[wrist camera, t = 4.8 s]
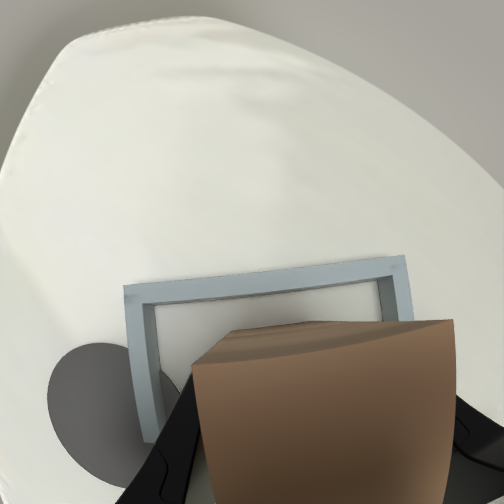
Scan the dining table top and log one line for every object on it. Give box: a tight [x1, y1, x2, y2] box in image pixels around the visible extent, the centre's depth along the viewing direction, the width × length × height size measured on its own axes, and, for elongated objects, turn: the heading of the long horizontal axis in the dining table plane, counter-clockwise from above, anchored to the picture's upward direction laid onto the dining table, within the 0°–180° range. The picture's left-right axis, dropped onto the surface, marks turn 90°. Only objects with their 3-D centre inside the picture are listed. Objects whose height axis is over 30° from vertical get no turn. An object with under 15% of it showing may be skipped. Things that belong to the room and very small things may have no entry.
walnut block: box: [191, 319, 456, 504], centre depth 10 cm, size 4×4×12 cm
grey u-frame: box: [123, 255, 414, 443], centre depth 15 cm, size 8×15×2 cm, turn 96°
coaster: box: [47, 343, 180, 488], centre depth 14 cm, size 10×10×1 cm
